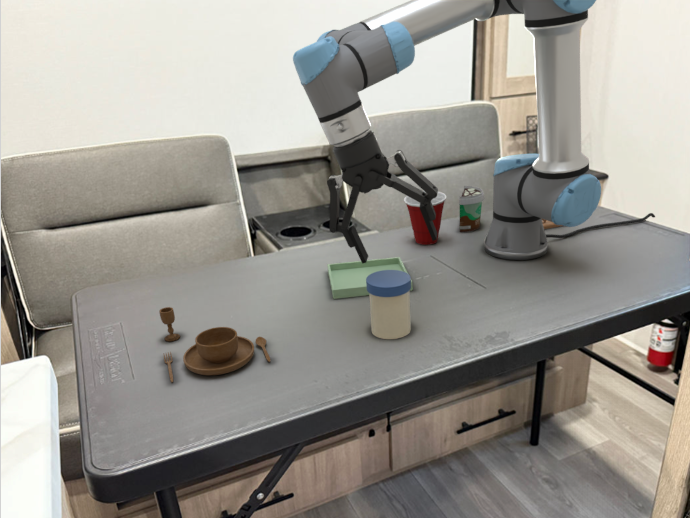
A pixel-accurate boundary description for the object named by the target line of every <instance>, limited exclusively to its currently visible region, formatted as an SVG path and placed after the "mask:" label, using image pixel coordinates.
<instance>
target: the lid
mask: <svg viewBox="0 0 690 518" xmlns="http://www.w3.org/2000/svg"><path fill="white" fill-rule="evenodd" d="M411 277H412V276H411V275H410V274H409V272H408V273H406V272H403V271H399V270H382V271H377V272H374V273H372V274H370V275H369V276H368V277H367V278H366V286H367V291H368V292H369V293H370V294H372V295H374V296H379V297H395V296H400V295H403V294H405V293H407V292H408V291H409V290H410V289H411V280H412V278H411Z"/></svg>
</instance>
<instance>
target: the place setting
mask: <svg viewBox="0 0 690 518" xmlns="http://www.w3.org/2000/svg"><path fill="white" fill-rule="evenodd" d="M158 313H159V316H160V320H161V323H162V324H164V325H166V327H167V333H168V334H167V335H166V336H165V337H164V339H163V340H164V341H165V342H175V341H178V340H179V339H180V338H181V335H180V334H179V333H174V332H175V330H174V328H173V324H174V322H175V321H176V317H175V311H174V307H171V306H167V307H163V308H160V309H159V312H158ZM255 344H256V346H258V347H260V348H262V352H263V354H264V356H265V360H266V361H267V362H271V357H270V354H269V352H268V351H267V349H266V345H267V339H266V338H265V337H262V336H257V337H256V339H255ZM254 354H255V345H254V342H253V341H252V340H250V339H249V338H247V337H244V336H240V335H238V333H237V330H236V329H234V328H232V327H228V326H217V327H211V328H208V329H205V330H203V331H201V332H200V333H198V334H197V335H196V337H195V339H194V344H193V345H191V347H189V348H188V349H186V351H185V353H184V355H183V356H182V361H183V364H184V366H185V367H186V368H187V369H188V370H189V371H190V372H192V373H194V374H197V375H201V376H219V375H225V374H229V373H231V372H234V371H237V370H239V369H241V368H242V367H244V366H245V365H247V364H248V363H249V362H250V361H251V360H252V358H253V357H254ZM163 360H164V363H165V364H167V369H168V375H169V380H170V383H173V382H174V375H173V369H172V363H173V356H172V352H171V351H169V352H167V353H165V354H163Z"/></svg>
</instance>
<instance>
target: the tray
mask: <svg viewBox="0 0 690 518" xmlns="http://www.w3.org/2000/svg"><path fill="white" fill-rule="evenodd" d="M326 264H327V263H326ZM382 270H399V271H403V272H406V273H408V274H409V272H408V270H407V268H406V267H405V264H404V263H403V261H402V258H401V257H400V256H397V257H387V258H386V257H385V258H376V259H367V262H366V263H363V264H362V262H361V260H356V261H347V262H337V263H328V264H327V275H328V278H329V279H328V280H329V284H330V288H331V293H332V300H337V299H348V298H355V297H365V296H369V292H368V291H367V286H366V278H367V277H368V276H369V275H370V274H372V273H374V272H377V271H382ZM413 288H414V286H413V280H412V279H411V289H410V292H411V291H413Z"/></svg>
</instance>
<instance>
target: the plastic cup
mask: <svg viewBox="0 0 690 518" xmlns="http://www.w3.org/2000/svg"><path fill="white" fill-rule="evenodd" d="M422 191H423V192H425V191H424V190H422ZM425 193H426V192H425ZM446 199H447V194H446V193H444V192H441V191H438V193H437V197H436V198H433V199H432V200H431V203H432V205H433V208H434V210H435V213H436V218H435V220H432V221H433V223H434V226H435V228H436V231H437V233H438V234H437V240H434V241H432V238H431V236H430V233H429V231H428V228H427V226H426V223H425V221H424V218H423V216H422V213H421V211H420V208H419V207H420V202H418V201H416V200H414V199H412V198H410V197H409V196H407V195H405V197H404V198H403V202H404V203H405V205H406V208H407V211H408V214H409V219H410V224H411V228H412V231H413V238H414V240H415V243H417V244H419V245H422V246H423V245H425V246H426V245H427V246H428V245H433V244H436V243H437V242H438V240H439V236H440V229H441V224H442V216H443V211H444V206H445V202H446Z"/></svg>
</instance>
